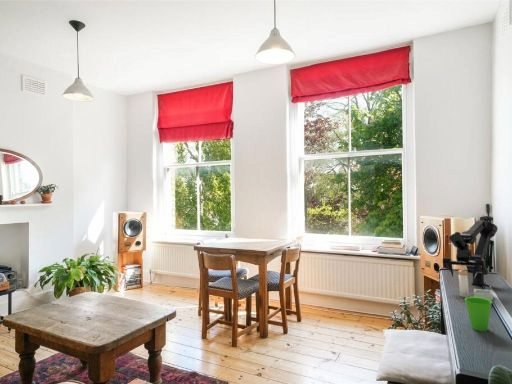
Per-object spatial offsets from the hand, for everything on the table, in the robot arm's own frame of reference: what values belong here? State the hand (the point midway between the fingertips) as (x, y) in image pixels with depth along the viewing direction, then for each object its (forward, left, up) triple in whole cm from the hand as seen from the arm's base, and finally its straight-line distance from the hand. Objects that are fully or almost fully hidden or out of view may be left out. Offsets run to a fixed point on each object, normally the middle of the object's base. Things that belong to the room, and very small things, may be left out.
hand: (463, 277), depth 171 cm
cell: (+2, 0, -9) cm, 9 cm away
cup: (+46, +7, -9) cm, 47 cm away
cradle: (+1, +8, -9) cm, 12 cm away
